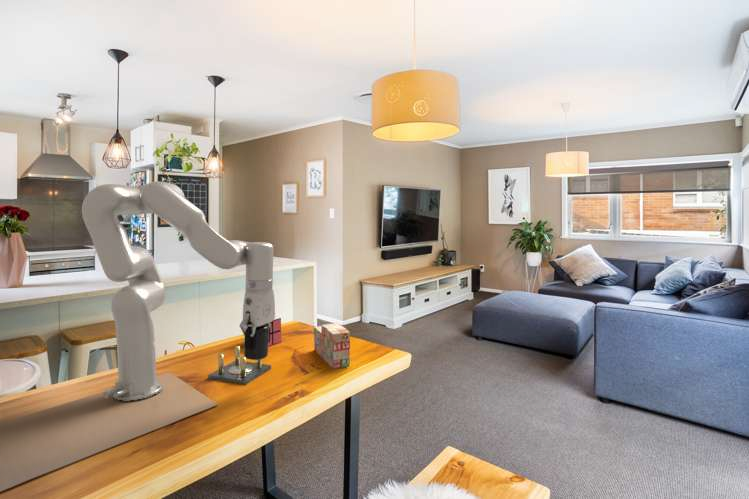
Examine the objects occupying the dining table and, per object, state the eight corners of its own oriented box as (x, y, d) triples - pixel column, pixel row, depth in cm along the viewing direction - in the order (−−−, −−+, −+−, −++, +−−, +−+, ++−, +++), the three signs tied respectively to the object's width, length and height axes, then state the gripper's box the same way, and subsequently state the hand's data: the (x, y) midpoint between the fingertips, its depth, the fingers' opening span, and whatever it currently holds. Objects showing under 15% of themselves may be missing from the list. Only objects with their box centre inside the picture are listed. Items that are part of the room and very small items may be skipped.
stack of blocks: (313, 350, 161) (313, 318, 160) (329, 348, 164) (329, 317, 163) (332, 369, 142) (332, 333, 141) (350, 366, 145) (350, 331, 144)
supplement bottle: (243, 360, 119) (244, 319, 118) (244, 352, 126) (245, 313, 125) (268, 359, 121) (269, 319, 120) (268, 352, 128) (269, 313, 127)
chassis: (245, 384, 129) (245, 361, 128) (208, 378, 133) (207, 356, 132) (271, 368, 142) (270, 347, 141) (236, 363, 146) (235, 343, 146)
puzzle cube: (281, 342, 171) (281, 317, 170) (263, 348, 162) (262, 323, 161) (264, 338, 176) (264, 314, 175) (245, 344, 168) (244, 319, 167)
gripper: (252, 291, 112) (250, 356, 114) (286, 282, 129) (284, 339, 130) (228, 288, 115) (227, 352, 116) (264, 279, 131) (263, 336, 133)
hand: (257, 345), depth 123 cm, fingers closed on supplement bottle, 6 cm apart
